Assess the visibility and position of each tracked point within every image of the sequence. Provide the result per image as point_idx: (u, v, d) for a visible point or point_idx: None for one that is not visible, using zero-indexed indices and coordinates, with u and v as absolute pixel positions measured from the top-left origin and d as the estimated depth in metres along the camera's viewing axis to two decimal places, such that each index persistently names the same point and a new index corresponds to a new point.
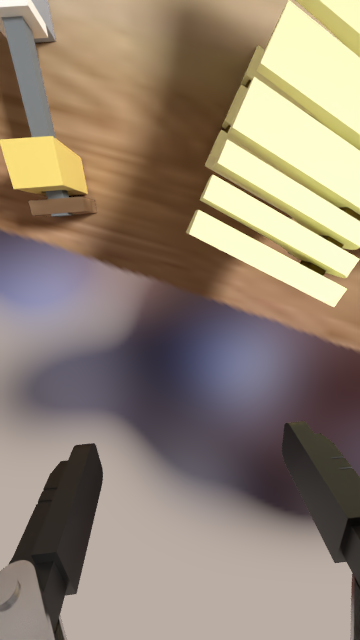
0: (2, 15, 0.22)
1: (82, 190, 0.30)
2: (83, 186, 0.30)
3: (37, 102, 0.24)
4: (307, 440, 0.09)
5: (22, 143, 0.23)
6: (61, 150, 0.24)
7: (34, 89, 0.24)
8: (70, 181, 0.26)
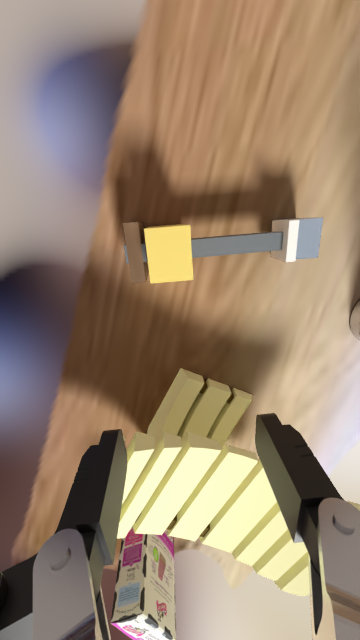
0: (284, 234, 0.25)
1: None
2: None
3: (224, 250, 0.26)
4: (274, 430, 0.10)
5: (186, 249, 0.22)
6: None
7: (234, 250, 0.26)
8: None
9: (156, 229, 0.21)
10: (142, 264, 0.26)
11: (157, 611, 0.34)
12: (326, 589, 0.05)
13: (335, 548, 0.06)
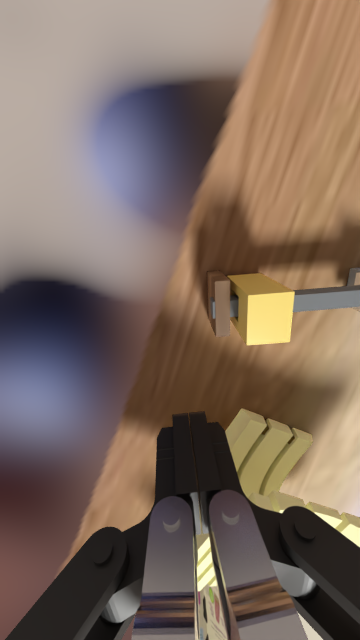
0: None
1: None
2: None
3: (312, 306, 0.25)
4: (198, 427, 0.10)
5: (287, 313, 0.22)
6: None
7: (322, 305, 0.25)
8: None
9: (260, 295, 0.21)
10: (229, 319, 0.25)
11: None
12: (227, 596, 0.05)
13: (228, 544, 0.06)
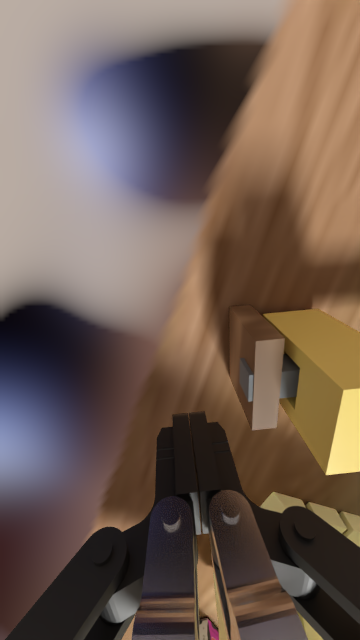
0: None
1: None
2: None
3: None
4: (198, 427, 0.10)
5: None
6: None
7: None
8: None
9: None
10: (277, 403, 0.14)
11: None
12: (227, 595, 0.05)
13: (228, 544, 0.06)
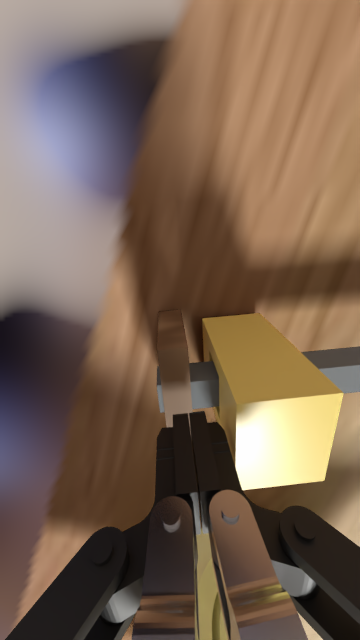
0: None
1: None
2: None
3: (345, 386, 0.14)
4: (198, 427, 0.10)
5: (324, 434, 0.10)
6: None
7: None
8: None
9: (265, 404, 0.09)
10: None
11: None
12: (228, 595, 0.05)
13: (228, 544, 0.06)
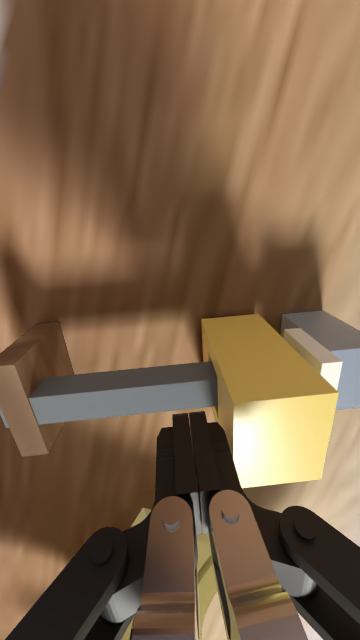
0: None
1: None
2: None
3: (194, 401, 0.13)
4: (198, 427, 0.10)
5: (320, 433, 0.10)
6: None
7: (212, 400, 0.14)
8: None
9: (261, 403, 0.09)
10: (37, 429, 0.13)
11: None
12: (228, 596, 0.05)
13: (228, 544, 0.06)
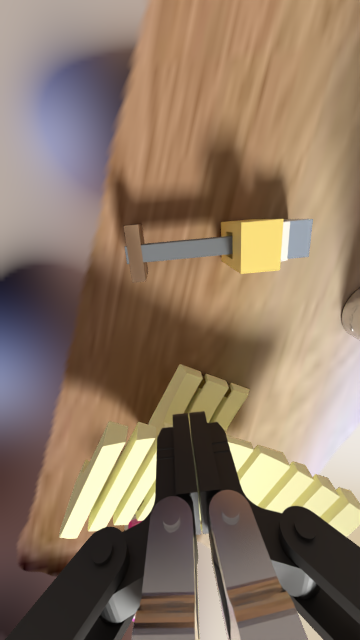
0: None
1: (227, 263, 0.30)
2: None
3: (220, 250, 0.27)
4: (198, 427, 0.10)
5: (277, 241, 0.24)
6: None
7: (229, 250, 0.27)
8: None
9: (252, 223, 0.23)
10: (142, 264, 0.27)
11: None
12: (227, 595, 0.05)
13: (228, 544, 0.06)
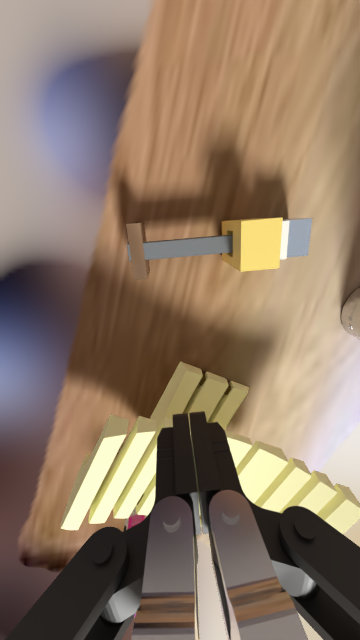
0: None
1: None
2: None
3: (220, 249, 0.28)
4: (198, 427, 0.10)
5: (277, 239, 0.24)
6: None
7: (229, 248, 0.28)
8: None
9: (252, 221, 0.23)
10: (144, 262, 0.28)
11: None
12: (228, 595, 0.05)
13: (228, 544, 0.06)
